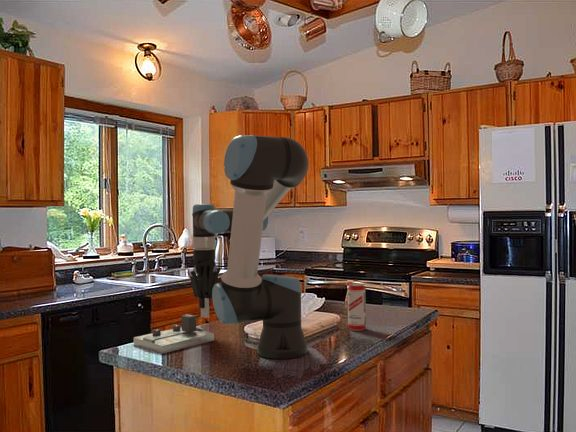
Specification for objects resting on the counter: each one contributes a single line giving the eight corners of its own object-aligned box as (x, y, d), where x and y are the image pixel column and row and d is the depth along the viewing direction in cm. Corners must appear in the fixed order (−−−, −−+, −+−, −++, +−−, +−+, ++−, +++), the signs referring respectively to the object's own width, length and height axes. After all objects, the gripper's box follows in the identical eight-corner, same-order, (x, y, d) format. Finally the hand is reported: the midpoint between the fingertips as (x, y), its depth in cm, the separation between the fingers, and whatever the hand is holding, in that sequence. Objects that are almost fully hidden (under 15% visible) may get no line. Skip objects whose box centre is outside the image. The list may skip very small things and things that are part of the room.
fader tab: (196, 330, 175) (196, 315, 175) (189, 332, 173) (188, 316, 173) (188, 329, 178) (188, 313, 178) (181, 330, 175) (181, 315, 175)
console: (213, 340, 173) (213, 328, 173) (162, 353, 158) (162, 340, 158) (184, 333, 184) (184, 322, 183) (133, 344, 169) (133, 332, 169)
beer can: (364, 332, 181) (363, 286, 181) (346, 330, 184) (345, 285, 183) (367, 328, 187) (366, 283, 187) (350, 327, 189) (349, 282, 189)
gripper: (211, 246, 187) (212, 312, 188) (181, 249, 178) (182, 318, 178) (225, 248, 182) (226, 315, 183) (195, 250, 173) (196, 322, 173)
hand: (205, 316), depth 181 cm, fingers closed
